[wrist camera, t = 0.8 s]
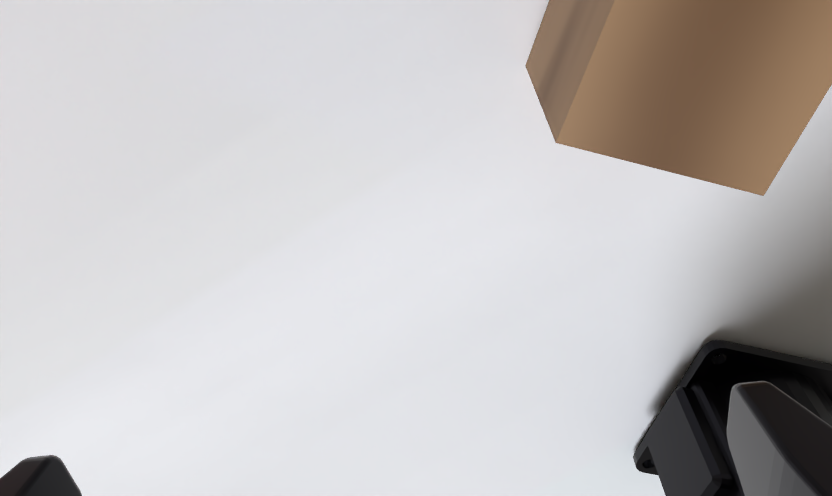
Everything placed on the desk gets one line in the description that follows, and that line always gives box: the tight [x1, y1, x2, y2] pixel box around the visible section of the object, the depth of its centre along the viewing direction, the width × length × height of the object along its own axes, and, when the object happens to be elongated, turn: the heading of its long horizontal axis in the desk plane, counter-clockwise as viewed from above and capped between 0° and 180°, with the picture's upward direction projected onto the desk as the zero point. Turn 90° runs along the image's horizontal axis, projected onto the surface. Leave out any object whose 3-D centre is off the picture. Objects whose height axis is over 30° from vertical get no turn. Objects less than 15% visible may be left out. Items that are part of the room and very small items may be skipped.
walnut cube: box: [526, 0, 832, 196], centre depth 17 cm, size 5×5×5 cm
